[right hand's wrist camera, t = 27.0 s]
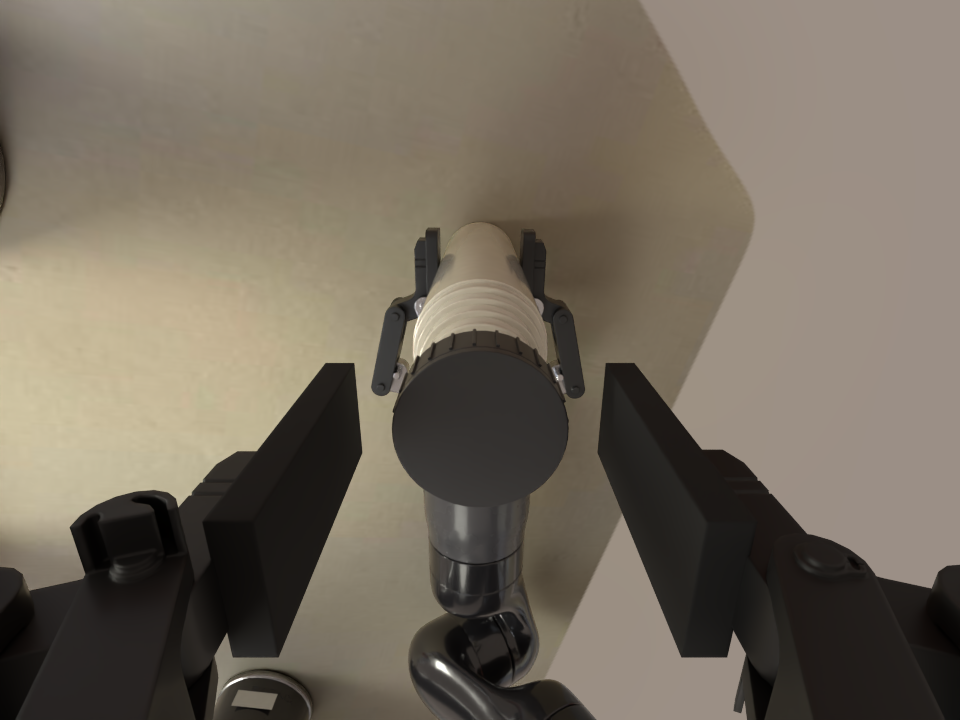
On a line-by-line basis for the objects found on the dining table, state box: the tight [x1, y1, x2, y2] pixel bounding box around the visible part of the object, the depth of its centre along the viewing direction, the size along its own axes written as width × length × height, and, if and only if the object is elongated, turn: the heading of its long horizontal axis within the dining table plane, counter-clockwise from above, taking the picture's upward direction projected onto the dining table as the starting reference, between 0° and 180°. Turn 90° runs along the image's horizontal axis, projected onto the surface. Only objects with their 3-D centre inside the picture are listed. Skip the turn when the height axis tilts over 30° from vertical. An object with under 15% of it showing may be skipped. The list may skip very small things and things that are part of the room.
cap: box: [392, 329, 569, 507], centre depth 14 cm, size 4×4×2 cm
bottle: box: [413, 222, 548, 362], centre depth 26 cm, size 5×5×26 cm
